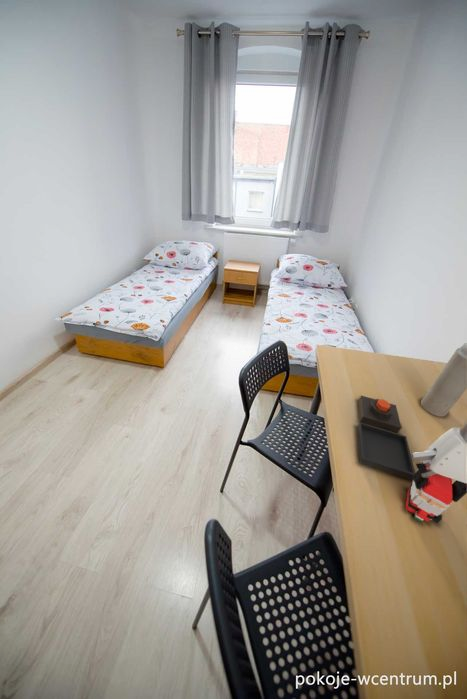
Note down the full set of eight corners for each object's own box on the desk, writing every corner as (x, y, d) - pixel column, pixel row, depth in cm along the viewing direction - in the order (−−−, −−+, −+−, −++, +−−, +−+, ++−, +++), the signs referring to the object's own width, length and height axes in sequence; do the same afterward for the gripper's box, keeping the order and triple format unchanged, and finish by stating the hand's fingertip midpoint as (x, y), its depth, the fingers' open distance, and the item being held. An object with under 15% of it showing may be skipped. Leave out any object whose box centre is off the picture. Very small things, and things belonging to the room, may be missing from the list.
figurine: (436, 532, 61) (469, 505, 54) (402, 512, 64) (429, 484, 57) (437, 500, 67) (467, 473, 60) (406, 483, 70) (431, 455, 63)
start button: (387, 405, 87) (389, 401, 86) (388, 413, 84) (391, 409, 83) (375, 401, 88) (377, 397, 87) (376, 409, 85) (378, 405, 84)
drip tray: (402, 441, 81) (406, 436, 80) (411, 480, 71) (416, 475, 69) (356, 427, 84) (359, 422, 82) (359, 463, 73) (362, 458, 72)
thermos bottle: (446, 406, 96) (498, 338, 80) (446, 420, 90) (503, 350, 75) (421, 396, 99) (466, 329, 84) (420, 408, 94) (468, 339, 78)
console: (392, 410, 91) (398, 401, 89) (397, 433, 83) (404, 423, 81) (358, 401, 94) (362, 391, 91) (359, 422, 86) (365, 412, 83)
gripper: (527, 437, 53) (470, 488, 63) (429, 409, 56) (390, 461, 66) (552, 471, 46) (484, 521, 56) (440, 437, 50) (395, 490, 60)
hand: (434, 488), depth 61 cm, fingers closed on figurine, 6 cm apart
